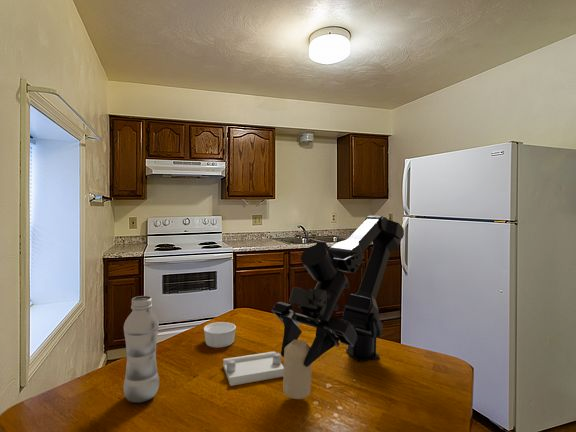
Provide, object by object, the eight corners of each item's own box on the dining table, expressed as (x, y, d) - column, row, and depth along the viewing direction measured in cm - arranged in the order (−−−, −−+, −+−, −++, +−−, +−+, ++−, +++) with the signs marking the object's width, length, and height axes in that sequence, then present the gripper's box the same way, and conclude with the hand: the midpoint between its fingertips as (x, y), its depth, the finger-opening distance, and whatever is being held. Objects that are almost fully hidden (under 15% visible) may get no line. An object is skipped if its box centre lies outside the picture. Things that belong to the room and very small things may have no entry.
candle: (291, 402, 62) (292, 350, 61) (278, 387, 67) (279, 339, 66) (315, 395, 64) (317, 345, 64) (301, 380, 69) (303, 334, 69)
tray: (274, 358, 83) (274, 346, 83) (287, 375, 75) (287, 362, 75) (223, 366, 79) (223, 354, 78) (230, 385, 70) (230, 372, 70)
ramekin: (196, 344, 91) (197, 328, 91) (219, 333, 99) (219, 319, 99) (220, 351, 86) (220, 335, 86) (242, 340, 94) (242, 325, 94)
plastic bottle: (136, 412, 61) (137, 305, 60) (116, 400, 64) (116, 299, 64) (166, 395, 66) (166, 297, 66) (145, 385, 70) (146, 292, 69)
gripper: (277, 265, 74) (239, 328, 66) (350, 279, 61) (314, 357, 53) (299, 293, 80) (267, 353, 72) (369, 310, 67) (339, 385, 60)
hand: (293, 360), depth 64 cm, fingers closed on candle, 5 cm apart
